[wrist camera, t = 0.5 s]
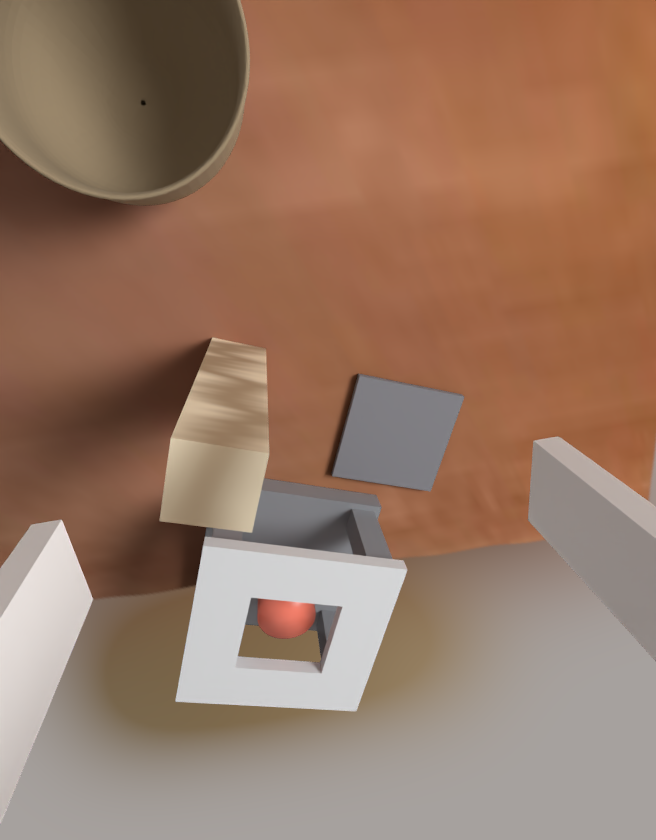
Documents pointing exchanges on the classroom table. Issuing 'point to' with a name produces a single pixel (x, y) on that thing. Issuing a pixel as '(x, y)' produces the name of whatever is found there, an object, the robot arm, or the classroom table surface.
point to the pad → (395, 433)
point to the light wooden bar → (220, 442)
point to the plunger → (285, 617)
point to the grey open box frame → (293, 599)
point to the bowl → (123, 92)
